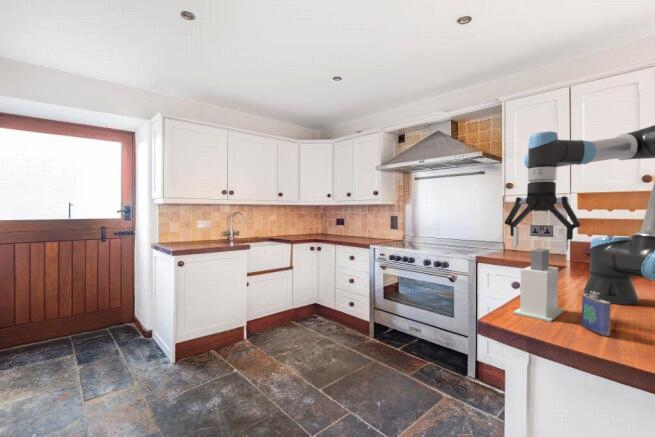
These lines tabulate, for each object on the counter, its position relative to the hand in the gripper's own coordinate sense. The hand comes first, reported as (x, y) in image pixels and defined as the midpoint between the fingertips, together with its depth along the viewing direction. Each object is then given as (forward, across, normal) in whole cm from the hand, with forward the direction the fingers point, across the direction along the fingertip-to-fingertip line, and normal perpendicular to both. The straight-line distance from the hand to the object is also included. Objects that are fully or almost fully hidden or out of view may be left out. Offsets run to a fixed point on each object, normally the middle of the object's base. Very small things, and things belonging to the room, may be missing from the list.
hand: (539, 248), depth 101 cm
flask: (+21, +15, -6) cm, 26 cm away
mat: (+21, 0, 0) cm, 21 cm away
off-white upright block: (+20, 0, 0) cm, 20 cm away
